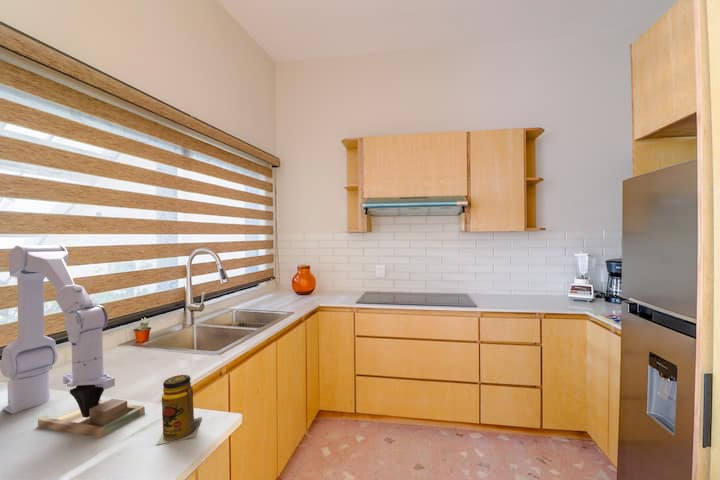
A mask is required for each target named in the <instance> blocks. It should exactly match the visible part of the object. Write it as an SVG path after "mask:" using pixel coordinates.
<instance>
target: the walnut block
mask: <svg viewBox="0 0 720 480" xmlns="http://www.w3.org/2000/svg"><path fill="white" fill-rule="evenodd" d="M105 401H106V402H104V403H102V404H99V405H97V406H95V407H93V408H91V409H89V413H90V425H93V426H99V427H102V426H104V425H106V424H107V423H109V422H111V421H113V420H115V419H117V418H119V417H121V416H123V415H125V414H127V413H128V409H127V404H128V400H124V399H118V398H117V399H116V398H111V399H108V400H105Z"/></svg>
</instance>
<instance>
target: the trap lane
mask: <svg viewBox="0 0 720 480" xmlns="http://www.w3.org/2000/svg"><path fill="white" fill-rule="evenodd" d="M106 401H107V400H101V399H100V400H99V404H102V403H104V402H106ZM99 404H98V405H99ZM127 409H128V413H127V414H125V415H123V416H121V417H119V418H117V419H115V420H113V421H111V422H109V423H107V424H106V425H104V426H102V427H99V426H93V425H90V417H88V418H85V417H83V416H82V413H81V411H80V408H79V407H78V408H76V409H74V410H71V411H69V412H67V413H65V414H63V415H61V416H58V417H56V418H53V417H46V416H44V417H43V416H42V417H41V418H39V419H37V428H38V427H39V428H45V429H50V430H54V431H60V432H66V433H70V434H71V433H72V434H75V435H81V436H87V437H92V438H97V439H100V438H102V437H103V436H107V435H108V434H109V433H111V432H113V431H114V430H117V429H118V428H120V427H122V426H123V425H125V424H128V423H129V422H131V421H133V420H134V419H136V418H138V417H140V416H141V415H143V414H146V413H145V406H144V405H138V404H137V405H136V404H129V403H127Z"/></svg>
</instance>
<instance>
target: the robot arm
mask: <svg viewBox="0 0 720 480" xmlns="http://www.w3.org/2000/svg"><path fill="white" fill-rule="evenodd" d="M68 263H69V252H68V250H67V248H66V247H65V246H64V245H63V244H57V245H53V244H52V245H14V247H13V248H12V249H11V250H10V252H9V254H8V272H9V276H10V277H13V278H16V280H17V282H16V283H17V338H16V339H15V340H14V341H12V342H11V343H9V344H8V345H6V346H5V347H4V348H3V349H2V353H1V355H2V356H1V359H0V372H1V374H2V376H3V377H4V378H6V379H9V380H8V381H7V382H8V383H7V405H6V406H3V407H2V410H5V412H7V413H10V414H12V415H13V414H16V413H18V412H21V411H24V410H25V409H26V410H27V409H31V408H33V407H37V406H39V405H40V406H41V405H42V404H44V403H47V402H48V401H50V400H51V399H53V398H52V397H51V394H50V393H51V392H50V388H51V387H50V385H51V384H50V370H53V367H54V365H55V364H56V363H57V361H58V358H59V352H58V349H57V343H56V340H55V339H54V338H52V337H49V336H46V335H45V328H44V327H45V309H44V308H45V304H44V303H45V301H44V295H45V294H44V293H45V292H44V288H45V287H44V284H45V283H44V280H45V278H46V279H47V280H48V281H49V283H50V284H51V285H52V286H53V288H54V289H55V291H56V294H55V296H54V299H55V301H56V303H57V305H58V307H59V308H60V309H61V311H62V313H63V315H64V316H65V322H64V327H65V330H66V332H67V333H66V334H67V340H68V342H69V343H71V369H72V372H71V373H70V372H69V373H68V374H65V375H63V376H62V383H63V385H66V387H69V388H72V389H70V390H69V394H70V395H71V396H72V397H73V399H75V401H76V403H77V405H78V408H80V411H81V413H82V416H83V417H85V418H88V417H90V413H89V409H91V408H93V407H95V406H97V405H98V404H99V400H101V397H102V395H103V394H104V391H105V390H108V389H110V388H112V387H115V386H116V383H115V382H116V381H115V377H112V376H110V375H109V374H107V373H106V372H104V345H103V344H104V342H103V339H104V338H103V337H104V336H103V329H105V328H106V327H107V325H108V323H109V316H108V312H107V310H106V308H105V307H104V306H103V305H100V304H98V302H97V303H96V302H93V299H92V298H91V297H90V295H89V294H88V292H87V290H86V289H85V287H84V286H83V285H81V284H76V282H75V281H74V279H73V276H72V274H71V272H70V270H69V269H68V266H67V265H68ZM73 387H74V388H73Z"/></svg>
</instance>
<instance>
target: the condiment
mask: <svg viewBox="0 0 720 480" xmlns="http://www.w3.org/2000/svg"><path fill="white" fill-rule="evenodd" d="M191 380H192V379H191V377H190V375H189V374H188V375H187V374H177V375H173V376H172V377H168V378H167V379H165V380H164V381H163V384H162V385H163V389H162V391H163V392H162V395H161V408H162V409H161V411H162V412H161V413H162V414H161V416H162V418H161V419H162V434H161V436H160V437H159V439H158V441H157V443H156V445H161V444H168V443H173V442H177V441H182V440H186V439H190V438H196V435H197V433H198V429H199V426H200V424H201V421H202V417H203V416H200V417H196V418H195V413H194V390H193V389H194V388H193V387H192V383H191Z"/></svg>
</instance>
